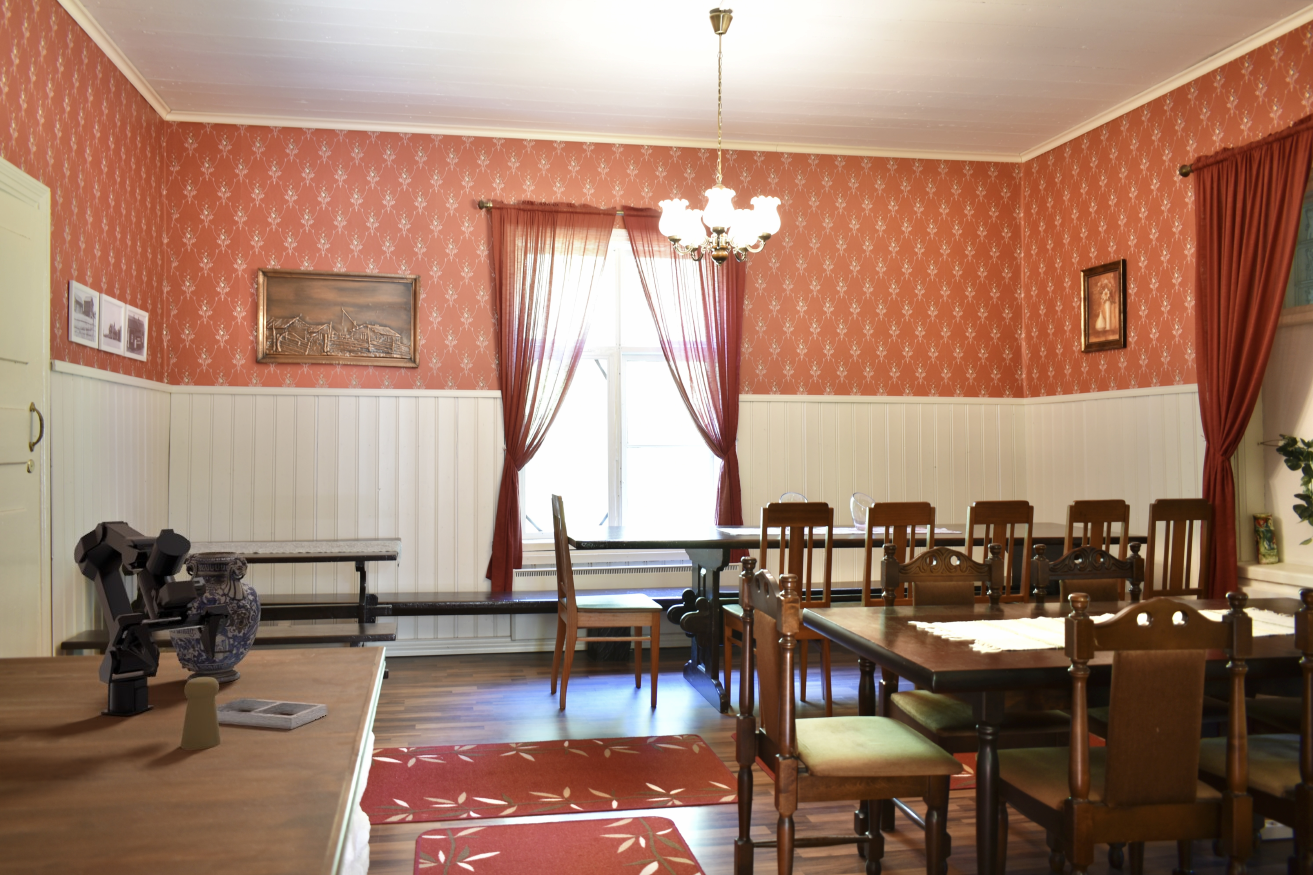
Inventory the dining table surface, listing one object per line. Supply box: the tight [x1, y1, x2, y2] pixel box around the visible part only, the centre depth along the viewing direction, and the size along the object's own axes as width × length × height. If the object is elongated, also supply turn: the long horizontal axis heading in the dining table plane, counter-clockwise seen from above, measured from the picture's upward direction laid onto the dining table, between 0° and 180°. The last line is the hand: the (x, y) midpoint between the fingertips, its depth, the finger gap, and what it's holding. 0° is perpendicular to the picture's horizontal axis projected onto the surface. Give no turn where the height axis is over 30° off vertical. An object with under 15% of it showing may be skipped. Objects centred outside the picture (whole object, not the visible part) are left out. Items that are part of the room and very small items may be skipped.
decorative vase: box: [168, 551, 262, 684], centre depth 206 cm, size 21×19×28 cm
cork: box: [180, 677, 222, 751], centre depth 155 cm, size 6×6×11 cm
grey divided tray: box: [216, 697, 328, 730], centre depth 171 cm, size 19×10×2 cm, turn 74°
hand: (185, 662), depth 160 cm, fingers open, 9 cm apart
